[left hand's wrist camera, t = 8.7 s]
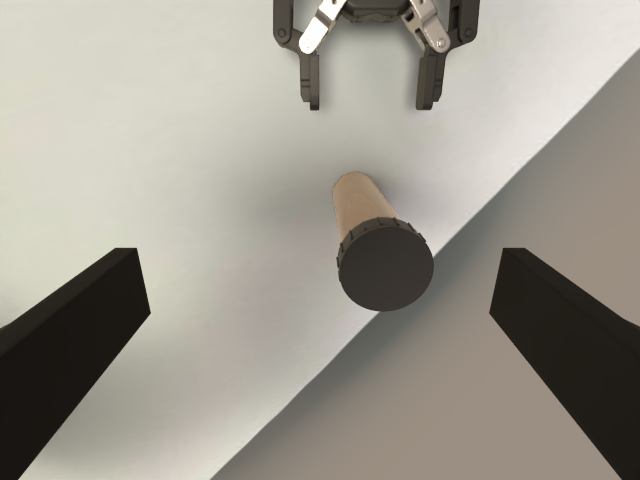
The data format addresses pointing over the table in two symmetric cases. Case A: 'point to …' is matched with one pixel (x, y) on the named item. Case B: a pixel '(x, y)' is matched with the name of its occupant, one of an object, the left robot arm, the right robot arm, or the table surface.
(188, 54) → the table surface
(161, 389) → the table surface
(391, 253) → the lid
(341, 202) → the bottle
